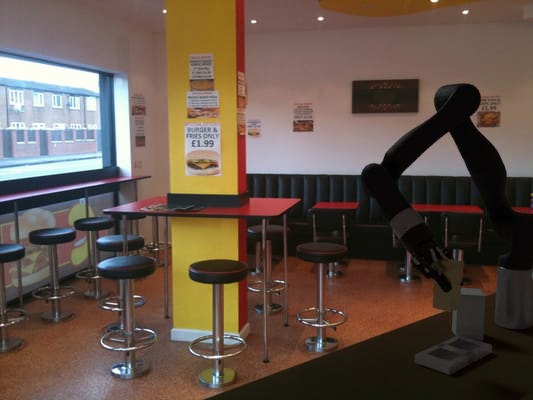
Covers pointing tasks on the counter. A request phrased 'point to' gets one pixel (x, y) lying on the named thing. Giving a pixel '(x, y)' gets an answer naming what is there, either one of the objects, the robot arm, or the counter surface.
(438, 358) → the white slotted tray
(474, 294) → the supplement box
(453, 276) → the brown square post
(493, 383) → the counter surface
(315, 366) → the counter surface
